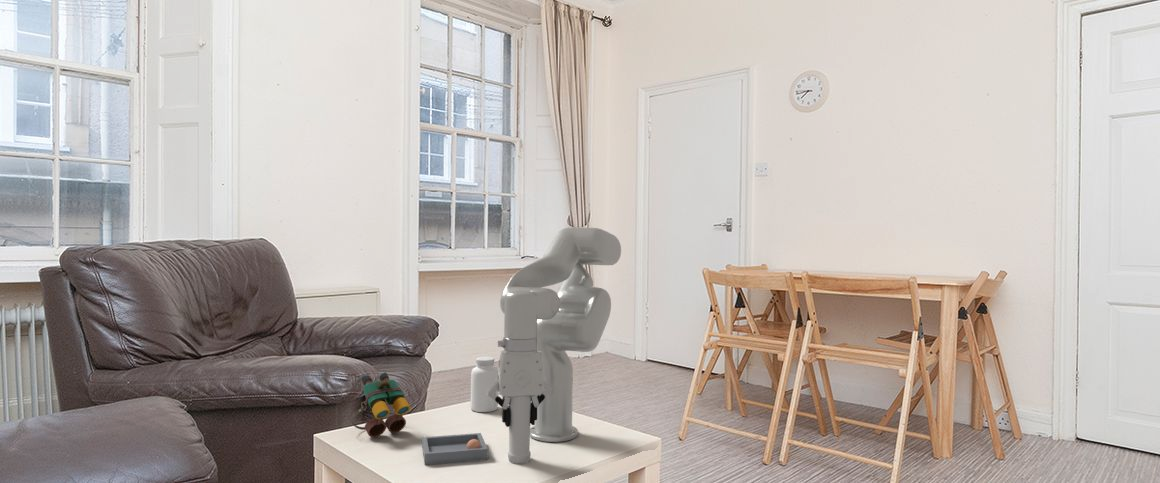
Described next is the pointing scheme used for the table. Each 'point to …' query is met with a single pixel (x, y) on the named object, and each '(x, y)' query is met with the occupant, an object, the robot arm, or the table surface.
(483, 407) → the pill bottle
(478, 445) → the ball
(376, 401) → the binoculars
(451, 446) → the tray
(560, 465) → the table surface
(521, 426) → the bottle
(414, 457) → the table surface
